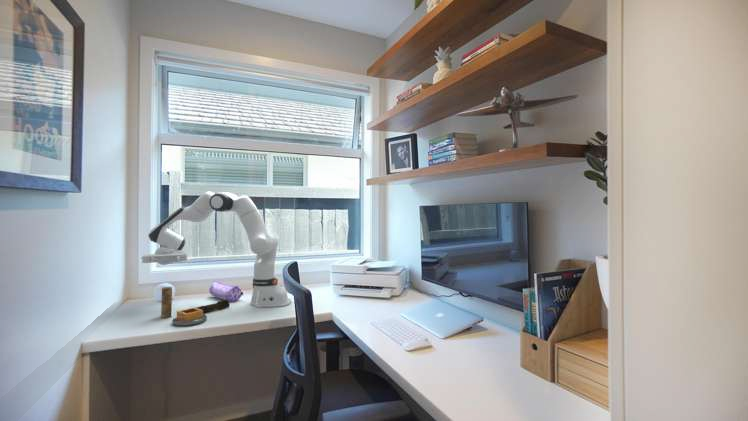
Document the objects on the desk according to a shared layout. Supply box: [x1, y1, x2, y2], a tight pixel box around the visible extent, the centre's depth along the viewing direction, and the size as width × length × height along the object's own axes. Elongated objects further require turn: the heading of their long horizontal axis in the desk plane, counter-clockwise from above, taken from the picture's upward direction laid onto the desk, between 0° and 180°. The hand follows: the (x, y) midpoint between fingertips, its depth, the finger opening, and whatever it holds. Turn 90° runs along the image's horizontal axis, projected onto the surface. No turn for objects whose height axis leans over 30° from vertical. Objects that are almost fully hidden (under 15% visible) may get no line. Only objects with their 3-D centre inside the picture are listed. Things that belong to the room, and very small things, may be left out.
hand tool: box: [195, 299, 230, 313], centre depth 168 cm, size 19×4×5 cm, turn 140°
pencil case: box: [209, 280, 244, 303], centre depth 193 cm, size 22×9×10 cm, turn 57°
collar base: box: [171, 307, 208, 328], centre depth 152 cm, size 14×14×5 cm
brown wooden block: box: [160, 286, 173, 319], centre depth 158 cm, size 4×4×14 cm
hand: (166, 259), depth 168 cm, fingers open, 8 cm apart
